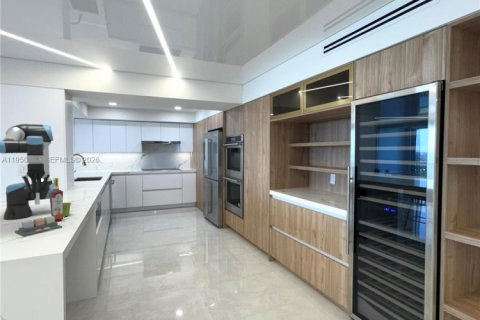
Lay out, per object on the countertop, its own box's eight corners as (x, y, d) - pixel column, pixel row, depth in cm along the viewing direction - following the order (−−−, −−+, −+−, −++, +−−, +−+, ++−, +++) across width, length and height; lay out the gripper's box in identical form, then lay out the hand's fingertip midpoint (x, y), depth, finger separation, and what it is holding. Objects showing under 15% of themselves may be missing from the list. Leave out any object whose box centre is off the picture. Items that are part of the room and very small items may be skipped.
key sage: (43, 222, 151) (43, 217, 151) (51, 221, 155) (51, 216, 154) (46, 223, 149) (46, 218, 149) (54, 222, 153) (54, 216, 152)
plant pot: (54, 218, 172) (53, 205, 172) (56, 215, 181) (56, 203, 180) (70, 216, 177) (70, 204, 176) (72, 213, 185) (72, 201, 185)
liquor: (53, 222, 162) (51, 179, 161) (48, 221, 166) (46, 178, 165) (66, 220, 168) (64, 177, 167) (60, 218, 172) (59, 177, 171)
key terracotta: (33, 225, 147) (33, 219, 147) (41, 223, 150) (41, 218, 150) (36, 226, 145) (36, 220, 145) (44, 224, 148) (44, 218, 148)
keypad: (14, 232, 143) (14, 227, 143) (51, 224, 159) (51, 219, 158) (24, 236, 137) (24, 231, 136) (62, 227, 152) (61, 222, 152)
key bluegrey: (21, 227, 142) (21, 221, 142) (30, 225, 146) (30, 220, 146) (25, 228, 140) (24, 222, 140) (33, 226, 144) (33, 221, 144)
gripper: (24, 163, 138) (25, 206, 139) (51, 162, 150) (53, 202, 150) (18, 163, 142) (20, 205, 143) (46, 162, 153) (47, 201, 154)
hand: (37, 204), depth 147 cm, fingers closed
